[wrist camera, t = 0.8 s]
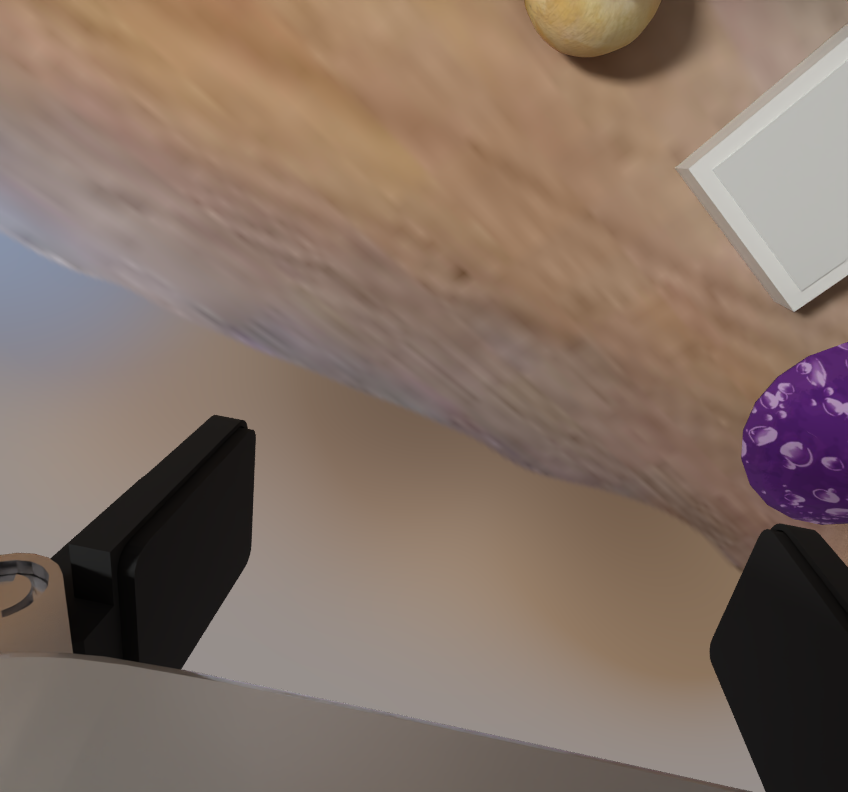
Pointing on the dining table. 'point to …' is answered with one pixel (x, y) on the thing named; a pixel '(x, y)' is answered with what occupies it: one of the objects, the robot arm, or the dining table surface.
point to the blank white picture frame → (785, 178)
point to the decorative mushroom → (802, 440)
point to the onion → (590, 23)
